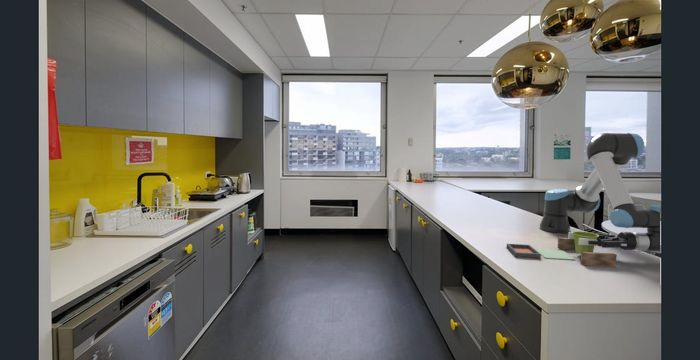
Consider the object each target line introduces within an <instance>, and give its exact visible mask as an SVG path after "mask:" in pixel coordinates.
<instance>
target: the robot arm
mask: <svg viewBox="0 0 700 360" xmlns="http://www.w3.org/2000/svg"><path fill="white" fill-rule="evenodd" d="M644 150H645V142H644V139H643V137H642V136H641V135H639V134H638V133H631V132H627V133H624V132H623V133H619V132H617V133H615V132H611V133H610V132H603V133H600V134H597V135H595V136H594V137H593V138H591V139H590V141H589V142H588V144H587V147H586V156H587V160H588V162H589V163H590V164H591V165H593V167H594V168H593V169H592V171H591V172H590V174H589V176H588V177H587V179H586V180H585V181H584V182H583V184H582V185H578V186H577V187H576V188H575V190H574V191H570V189H565V188H554V189H549V190H547V191H546V192H545V194H544V204H543V205H544V208H543V217H542V219H541V220H540V223H539V229H540V230H541V231H546V232H550V233H556V234H557V233H558V234H559V233H560V234H561V233H562V234H567V233H568V235H567V238H569V239H574V235H573V233H572V232H573V231H571V225H570V223H569V219H568V213H584V214H586V213H593V212H596V211H598V209H599V207H600V205H601V197H600V193H601V191H602V190H603V189H604V191H605V194H606V196H607V199H608V201H609V203H610V205H611V208H612V209H613V210H611V212H610V213H609V217H610V219H609V220H610V223H611V224H612V225H613V226H614V227H616V228H623V229H624V228H625V229H630V228H631V229H632V228H634V229H636V228H639V229H641V228H642V229H646V232H638V231H635V232H634V231H633V232H630V231H622V232H619V233H618V235H615V234H609V233H601V232H593V233H594V234H597V235H599V237H598V238H597V239H589V238H579V245H594V247H595V246H596V247H601V248H604V249H605V248H606V249H609V248H610V249H611V248H614V249H615V248H618V249H619V248H620V250H624V251H637V252H638V253H640V252H641V251H644V252H645V251H646V252H658V253H659V252H660V205H661V204H651V205H649V207H648V209H637V207H636V205H635V203H634V201H633V199H632V197H631V194H630V192H629V190H628V189H627V186H626V184H625V182H624V180H623V178H622V175H621V174H620V171H619V169H620V167H621V166H625V165H627V164H628V163H629V162H630V160H631V159H637V158H640V157H641V156H642V155H643V154H644V152H645V151H644ZM590 233H592V232H590ZM660 253H661V252H660Z"/></svg>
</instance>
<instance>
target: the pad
mask: <svg viewBox="0 0 700 360" xmlns="http://www.w3.org/2000/svg"><path fill="white" fill-rule="evenodd" d="M534 249H535V250H536V251H538V252H539V253H540V254H541V257H542V258H544V259H551V260H567V261H576V258H575V257H573V256H572V255H570V253H569V254H568V253H567V252H566V251H565V250H560V249H558V250H555V249H540V248H539V249H537V248H534Z"/></svg>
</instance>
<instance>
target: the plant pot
mask: <svg viewBox="0 0 700 360" xmlns="http://www.w3.org/2000/svg"><path fill="white" fill-rule="evenodd" d="M571 232H572V233H573V235H574V239H575V250H574V251H575V253H576V254H580V255H581V252H594V250H595V246H594V245H579V238H589V239H597V238H598V237H599V235H597V234H594V233H595V232H591V233H590V232H589V231H580V230H579V231H575V230H574V231H571Z"/></svg>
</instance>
